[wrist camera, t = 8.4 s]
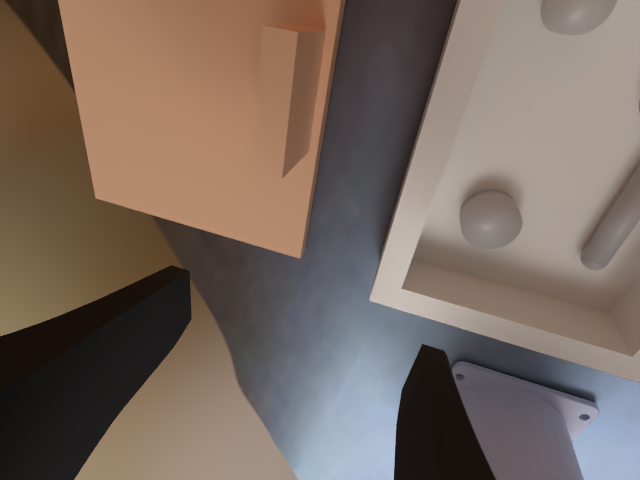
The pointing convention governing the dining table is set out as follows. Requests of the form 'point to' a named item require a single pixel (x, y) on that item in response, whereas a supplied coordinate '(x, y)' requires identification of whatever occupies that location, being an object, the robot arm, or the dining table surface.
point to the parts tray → (528, 183)
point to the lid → (207, 109)
